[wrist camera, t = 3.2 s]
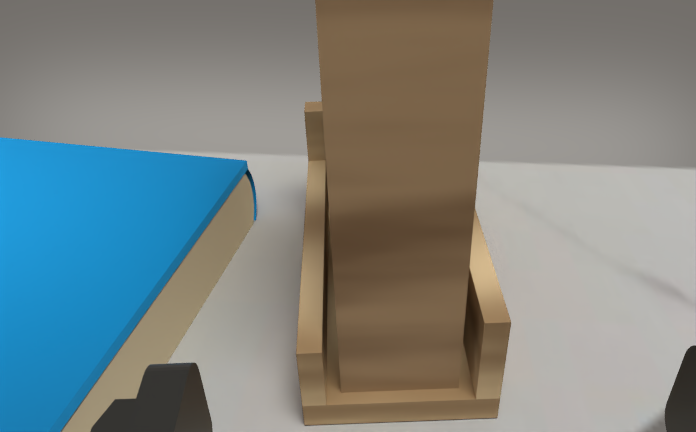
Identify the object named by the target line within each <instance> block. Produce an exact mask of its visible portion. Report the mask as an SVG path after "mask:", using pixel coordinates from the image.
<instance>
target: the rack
mask: <svg viewBox="0 0 696 432" xmlns="http://www.w3.org/2000/svg"><path fill="white" fill-rule="evenodd" d="M304 112H305V125H306V137H307V149H308V177H307V192H306V208H305V224H304V239H303V255H302V270H301V286H300V302H299V317H298V333H297V348H296V357H297V365H298V374H299V382H300V390H301V399H302V407H303V416H304V424H305V425H322V424H348V423H374V422H400V421H425V420H451V419H477V418H497V416H498V409H499V402H500V395H501V388H502V381H503V375H504V368H505V361H506V354H507V347H508V340H509V333H510V327H511V320H510V317H509V314H508V311H507V308H506V304H505V301H504V298H503V295H502V292H501V289H500V286H499V282H498V279H497V276H496V273H495V270H494V267H493V263H492V260H491V257H490V254H489V251H488V248H487V245H486V241H485V238H484V235H483V232H482V229H481V226H480V223H479V219H478V216H477V213H476V210H475V211H474V222H473V233H472V244H471V256H470V267H469V278H468V289H467V300H466V312H465V323H464V334H463V345H462V356H461V367H460V379H459V388H451V389H425V390H400V391H374V392H349V393H341V384H340V369H339V354H338V338H337V323H336V308H335V293H334V277H333V262H332V247H331V232H330V217H329V201H328V186H327V171H326V156H325V140H324V125H323V110H322V102H306V103H305V111H304Z"/></svg>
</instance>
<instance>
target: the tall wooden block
mask: <svg viewBox="0 0 696 432" xmlns="http://www.w3.org/2000/svg"><path fill="white" fill-rule="evenodd" d="M315 3H316V18H317V33H318V49H319V64H320V78H321V94H322V110H323V125H324V140H325V156H326V171H327V186H328V201H329V217H330V232H331V247H332V262H333V277H334V293H335V308H336V323H337V338H338V354H339V369H340V384H341V393H349V392H374V391H400V390H425V389H451V388H459V379H460V367H461V356H462V345H463V334H464V323H465V312H466V300H467V289H468V278H469V267H470V256H471V244H472V233H473V222H474V211H475V200H476V189H477V177H478V166H479V155H480V144H481V132H482V122H483V110H484V99H485V88H486V76H487V66H488V54H489V43H490V32H491V21H492V10H493V0H315Z"/></svg>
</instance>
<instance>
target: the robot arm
mask: <svg viewBox="0 0 696 432" xmlns="http://www.w3.org/2000/svg"><path fill="white" fill-rule="evenodd" d="M665 424H666V430H667V432H696V346H691V347H690V348H689V349H688V350H687V351H686V353H685V356H684V358H683V361H682V364H681V366H680V369H679V372H678V374H677V377H676V380H675V383H674V385H673V388H672V391H671V393H670V396H669V399H668V401H667V404H666V408H665ZM90 432H212V422H211V417H210V413H209V409H208V405H207V401H206V397H205V393H204V389H203V385H202V380H201V376H200V372H199V369H198V366H197V364H196V363H174V364H151V365H149V366H148V367H147V368H146V370H145V372H144V375H143V378H142V381H141V384H140V387H139V391H138V394H137V397H136V399H115V400H114V401H113V402H112V403H111V405H110V406H109V407H108V408H107V410H106V411H105V412H104V413H103V414H102V416H101V417H100V418H99V419H98V420H97V422H96V423H95V424H94V425H93V426H92V429H91V431H90Z"/></svg>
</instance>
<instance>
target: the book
mask: <svg viewBox="0 0 696 432" xmlns="http://www.w3.org/2000/svg"><path fill="white" fill-rule="evenodd" d="M254 220H256V192H255V186H254V182H253V178H252V176H251V174H250V172H249V170H248V166H247V161H244V160H234V159H223V158H213V157H202V156H191V155H181V154H170V153H160V152H149V151H138V150H128V149H117V148H107V147H95V146H85V145H75V144H64V143H53V142H43V141H42V142H41V141H32V140H22V139H10V138H0V432H90V431H91V429H92V426H93V425H94V424H95V423H96V422H97V420H98V419H99V418H100V417H101V416H102V414H103V413H104V412H105V411H106V410H107V408H108V407H109V406H110V405H111V403H112V402H113V401H114V400H115V399H136V397H137V394H138V391H139V387H140V384H141V381H142V378H143V375H144V372H145V370H146V368H147V367H148V366H149V365H151V364H167V362H168V361H169V359H170V358H171V356H172V354H173V353H174V351H175V349H176V348H177V346H178V345H179V343H180V341H181V340H182V338H183V337H184V335H185V333H186V332H187V330H188V329H189V327H190V325H191V324H192V322H193V320H194V319H195V317H196V316H197V314H198V312H199V311H200V309H201V308H202V306H203V304H204V303H205V301H206V299H207V298H208V296H209V295H210V293H211V291H212V290H213V288H214V287H215V285H216V283H217V282H218V280H219V278H220V277H221V275H222V274H223V272H224V270H225V269H226V267H227V266H228V264H229V262H230V261H231V259H232V257H233V256H234V254H235V253H236V251H237V249H238V248H239V246H240V245H241V243H242V241H243V240H244V238H245V236H246V235H247V233H248V232H249V230H250V228H251V227H252V225H253V221H254Z"/></svg>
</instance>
